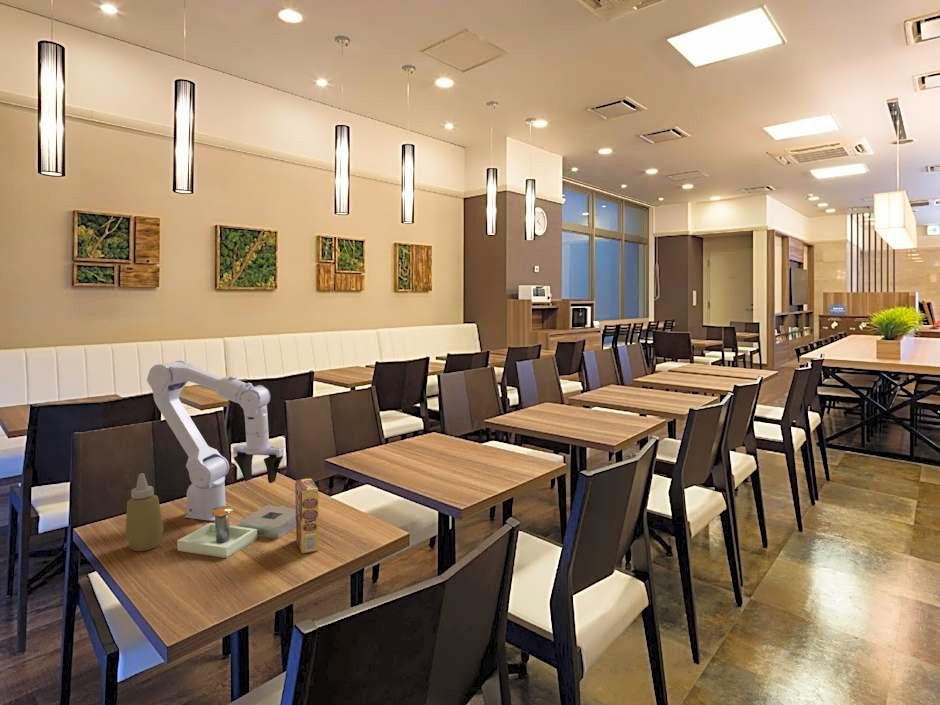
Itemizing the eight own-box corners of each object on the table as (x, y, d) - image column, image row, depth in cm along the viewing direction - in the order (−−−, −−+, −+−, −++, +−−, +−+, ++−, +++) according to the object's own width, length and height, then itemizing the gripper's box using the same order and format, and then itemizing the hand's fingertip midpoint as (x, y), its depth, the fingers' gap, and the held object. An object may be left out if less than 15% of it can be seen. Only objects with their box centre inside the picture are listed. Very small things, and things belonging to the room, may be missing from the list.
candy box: (320, 550, 135) (318, 488, 133) (301, 554, 133) (300, 491, 131) (313, 536, 143) (311, 477, 141) (295, 539, 141) (293, 480, 139)
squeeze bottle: (118, 551, 135) (113, 477, 133) (147, 537, 142) (143, 467, 140) (143, 556, 132) (138, 481, 130) (172, 542, 139) (168, 471, 138)
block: (237, 533, 145) (237, 521, 145) (267, 515, 156) (266, 505, 156) (278, 538, 141) (278, 527, 141) (305, 520, 153) (305, 509, 153)
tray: (177, 550, 135) (177, 540, 135) (210, 532, 145) (210, 522, 145) (226, 558, 131) (226, 547, 131) (257, 538, 141) (257, 529, 141)
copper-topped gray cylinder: (209, 542, 138) (207, 511, 137) (222, 535, 142) (220, 504, 141) (223, 545, 136) (221, 513, 135) (235, 538, 140) (234, 507, 139)
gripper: (224, 433, 150) (227, 483, 152) (271, 436, 146) (273, 487, 148) (241, 427, 157) (244, 475, 158) (287, 430, 153) (289, 479, 154)
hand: (260, 480), depth 153 cm, fingers open, 7 cm apart
